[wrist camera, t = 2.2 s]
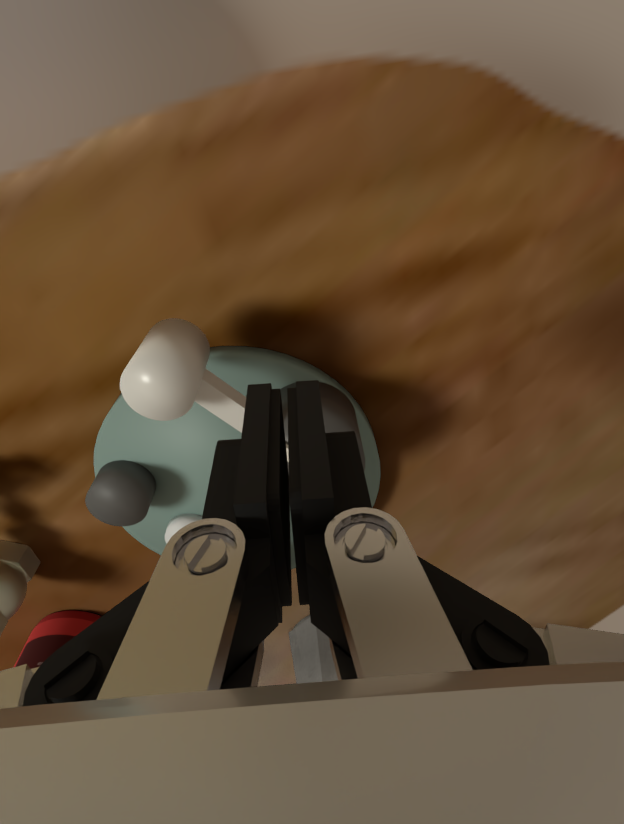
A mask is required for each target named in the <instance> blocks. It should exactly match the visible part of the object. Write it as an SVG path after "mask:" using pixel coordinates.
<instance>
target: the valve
mask: <svg viewBox="0 0 624 824" xmlns="http://www.w3.org/2000/svg"><path fill="white" fill-rule="evenodd" d="M40 563H41V562H40V560H39V559H38V558H37V556H36V555H35V554H34V552H33V551H32V549H31V548H30V547H29V546H27V545H24V544H19V543H14V542H9V541H4V540H0V635H1V633H2V631H3V630H4V628H5V626H6V624H7V622H8V619H10V618H11V617H12V616H13V615H14V614H15V613H16V612H17V611H18V609H19V608H20V606H21V605H22V603H23V601H24V598H25V595H26V591H27V582H29V581H30V580H31V579H32V577H33V576H34V574H35V572H36V570H37V568H38V567H39V565H40Z"/></svg>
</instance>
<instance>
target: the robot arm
mask: <svg viewBox="0 0 624 824" xmlns="http://www.w3.org/2000/svg"><path fill="white" fill-rule="evenodd" d="M287 401H288V455H289V472H288V462H287V452H286V441H285V431H284V421H283V410H282V400H281V390H280V389H272V386H271V383H266V384H251V385H248V387H247V395H246V403H245V412H244V420H243V428H242V436H241V439H230V440H218V441H217V444H216V448H215V453H214V459H213V464H212V469H211V474H210V479H209V484H208V490H207V495H206V500H205V505H204V510H203V515H202V520H198V521H195V522H192V523H190V524H188V525H186V526H184V527H183V528H181V529H180V530H178V531H177V532H176V533H175V534H174V535H173V536H172V537H171V538H170V540H169V541H168V543H167V544H166V546H165V548H164V550H163V552H162V555H161V557H160V559H159V561H158V564H157V566H156V568H155V570H154V572H153V575H152V577H151V579H150V581H148V582H147V583H146V584H144V585H143V586H142V587H140V588H139V589H138V590H136V591H135V592H134V593H132V594H131V595H130V596H128V597H127V598H126V599H124V600H123V601H122V602H120V603H119V604H118V605H116V606H115V607H114V608H112V609H111V610H110V611H108V612H107V613H106V614H104V615H103V616H102V617H100V618H99V619H98V620H96V621H95V622H94V623H92V624H91V625H90V626H88V627H87V628H86V629H84V630H83V631H82V632H80V633H79V634H78V635H76V636H75V637H74V638H72V639H71V640H70V641H68V642H67V643H66V644H64V645H63V646H61V647H60V648H59V649H57V650H56V651H55V652H54V653H53V654H52V655H51V656H49V657H48V658H47V659H46V660H45V661H44V662H43V663H42V664H41V665H40V667H37V668H33V669H30V668H29V666H28V665H27V664H24V665H21V666H17V667H14V668H11V669H7V670H4V671H0V824H624V634H619V633H612V632H605V631H598V630H590V629H583V628H576V627H569V626H562V625H555V624H548V623H547V625H546V627H545V629H539V628H532V627H531V625H529V624H528V623H527V622H525V621H524V620H523V619H521V618H520V617H519V616H517V615H516V614H514V613H512V612H511V611H509V610H507V609H506V608H504V607H502V606H501V605H499V604H497V603H496V602H494V601H492V600H491V599H489V598H487V597H485V596H484V595H482V594H480V593H479V592H477V591H475V590H474V589H472V588H470V587H469V586H467V585H465V584H464V583H462V582H460V581H459V580H457V579H455V578H454V577H452V576H450V575H449V574H447V573H445V572H443V571H442V570H440V569H438V568H437V567H435V566H433V565H432V564H430V563H428V562H427V561H425V560H423V559H422V558H420V557H418V556H417V555H416V553H415V551H414V549H413V547H412V545H411V543H410V541H409V539H408V537H407V535H406V533H405V531H404V529H403V528H402V526H401V525H400V523H399V522H398V521H397V520H396V519H395V518H393V517H392V516H391V515H390V514H388V513H386V512H383V511H381V510H378V509H373V508H372V505H371V500H370V496H369V492H368V487H367V483H366V478H365V474H364V469H363V465H362V460H361V456H360V451H359V447H358V442H357V438H356V434H355V432H354V431H347V432H332V433H325V427H324V419H323V411H322V404H321V396H320V389H319V381H318V380H311V381H296V388H287ZM290 512H291V522H292V532H293V543H294V553H295V563H296V573H297V583H298V593H299V603H300V605H306V604H309V606H310V619H311V623H312V624H313V625H314V626H316V627H317V628H318V629H319V630H320V631H322V632H323V633H324V634H325V635H327V636H328V637H329V642H330V649H331V653H332V657H333V661H334V665H335V670H336V674H337V678H338V680H336V681H323V682H311V683H298V684H285V685H273V686H260V687H257V686H258V680H259V675H260V669H261V664H262V658H263V653H264V639H265V638H266V637H267V636H268V635H269V634H270V633H271V632H272V631H273V630H274V629H275V628H276V627H277V626H278V623H282V606H291V605H292V591H291V539H290Z"/></svg>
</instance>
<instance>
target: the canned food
mask: <svg viewBox="0 0 624 824" xmlns="http://www.w3.org/2000/svg"><path fill="white" fill-rule="evenodd" d="M100 617H102V616H99V615H97V614H93V613H89V612H84V611H74V610H68V611H60V612H56V613H52V614H50V615H48V616H46V617H45V618H43V619H42V620H41V621H40V622H39V623H38V624H37V625H36V627H35V628H34V629H33V630H32V632H31V634H30V636H29V638H28V640H27V642H26V644H25V646H24V648H23V650H22V652H21V654H20V656H19V658H18V660H17V662H16V664H15V666H14V667H17V666H21V665H24V664H27V665H28V666H29V668H30V669H33V668H37V667H40V665H41V664H42V663H43V662H44V661H45V660H46V659H47V658H48V657H49V656H51V655H52V654H53V653H54V652H55V651H56V650H57V649H59V648H60V647H61V646H63V645H64V644H66V643H67V642H68V641H70V640H71V639H72V638H74V637H75V636H76V635H78V634H79V633H80V632H82V631H83V630H84V629H86V628H87V627H88V626H90V625H91V624H92V623H94V622H95V621H96V620H98V619H99V618H100Z"/></svg>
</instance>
